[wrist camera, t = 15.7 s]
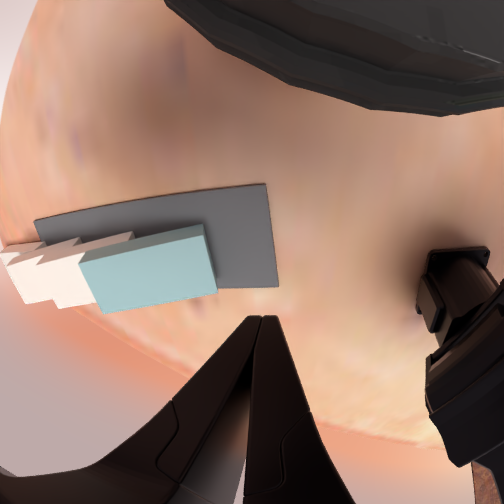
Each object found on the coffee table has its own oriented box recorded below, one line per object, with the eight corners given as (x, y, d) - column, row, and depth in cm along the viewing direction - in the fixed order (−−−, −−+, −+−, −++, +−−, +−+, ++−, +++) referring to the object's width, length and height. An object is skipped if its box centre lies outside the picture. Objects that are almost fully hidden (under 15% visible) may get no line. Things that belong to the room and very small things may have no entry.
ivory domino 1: (72, 246, 22) (5, 266, 22) (93, 290, 25) (25, 304, 24) (79, 236, 24) (13, 257, 23) (98, 279, 26) (32, 293, 26)
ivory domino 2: (127, 241, 21) (35, 265, 20) (147, 292, 23) (58, 308, 23) (132, 230, 23) (44, 254, 22) (150, 279, 25) (65, 296, 25)
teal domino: (203, 235, 20) (77, 263, 19) (218, 292, 22) (103, 314, 21) (202, 223, 21) (86, 251, 21) (216, 278, 24) (108, 299, 23)
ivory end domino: (33, 250, 24) (-2, 253, 26) (52, 289, 26) (14, 285, 28) (44, 241, 25) (8, 245, 28) (62, 279, 28) (23, 276, 30)
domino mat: (265, 184, 19) (265, 185, 19) (278, 285, 23) (278, 287, 23) (34, 220, 24) (33, 221, 24) (63, 284, 29) (62, 286, 28)
